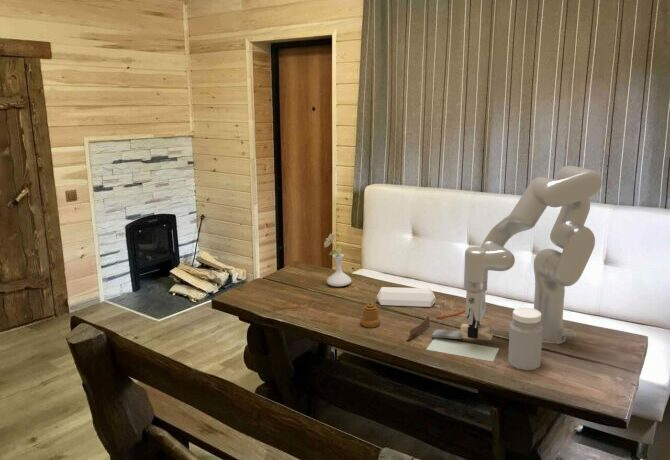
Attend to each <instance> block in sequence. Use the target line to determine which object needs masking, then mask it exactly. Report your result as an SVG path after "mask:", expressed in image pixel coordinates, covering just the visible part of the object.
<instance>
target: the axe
mask: <svg viewBox="0 0 670 460" xmlns="http://www.w3.org/2000/svg"><path fill="white" fill-rule="evenodd" d="M488 312H490V310H489V309H486V308H485V313H488ZM463 313H465V309H463V310H461V311H457V312H454V313H449V314H441V315H438V316H436V320H443V319H446V318H450V317H455V316H456V317H457V316H459V315H462V314H463Z"/></svg>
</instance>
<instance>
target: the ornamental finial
mask: <svg viewBox="0 0 670 460" xmlns="http://www.w3.org/2000/svg"><path fill="white" fill-rule="evenodd" d="M360 324H361V325H362V327H363V328H368V329H372V328H377V327H378V326H380V324H381V318H380V317H379V308H378V307H377V305H375V304H374V303H367V304H365V305H364V306H363V307H362V317H361V319H360Z"/></svg>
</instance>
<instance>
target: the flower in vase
mask: <svg viewBox="0 0 670 460" xmlns="http://www.w3.org/2000/svg"><path fill="white" fill-rule="evenodd" d="M335 237H336V233H335V232H333V231H332V233H329V235H328V237H326V238H325V241H324V243H323V247H324V248H327V247H329V246H330V245H331V244H332V246H333V248H334V249H333V250H331V251H330V252H329V255H328V256H332V257H333V259H334V261H335V266H336V269H335V272H334V273H332V274H331V275H329V277H328V278H327V279H326V283H327V284H328V285H330V286H332V287H344V286H347V285H350V284H351V283H352V278H351V277H350V276H349V275H348V274H346V273H345V272H343V270H342V260H343V258H344V257H345V255H344V254H343V253H341V252H342V246H338V247H337V248H336V246H335V244H334V242H333V241H334V239H335Z"/></svg>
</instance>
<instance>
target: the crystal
mask: <svg viewBox="0 0 670 460" xmlns="http://www.w3.org/2000/svg"><path fill="white" fill-rule="evenodd" d="M376 298H377V299H376V300H377V301H378V303H379V305H380V306H399V307H423V308H424V307H427V308H429V307H430V308H431V307H433V306H434V304H435V302H436V296H435V294H434V291H433V290H432V288H426V287H425V288H423V287H422V288H421V287H398V286H397V287H392V286H381V287H380V290H379V292H378V293H377V295H376Z"/></svg>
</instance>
